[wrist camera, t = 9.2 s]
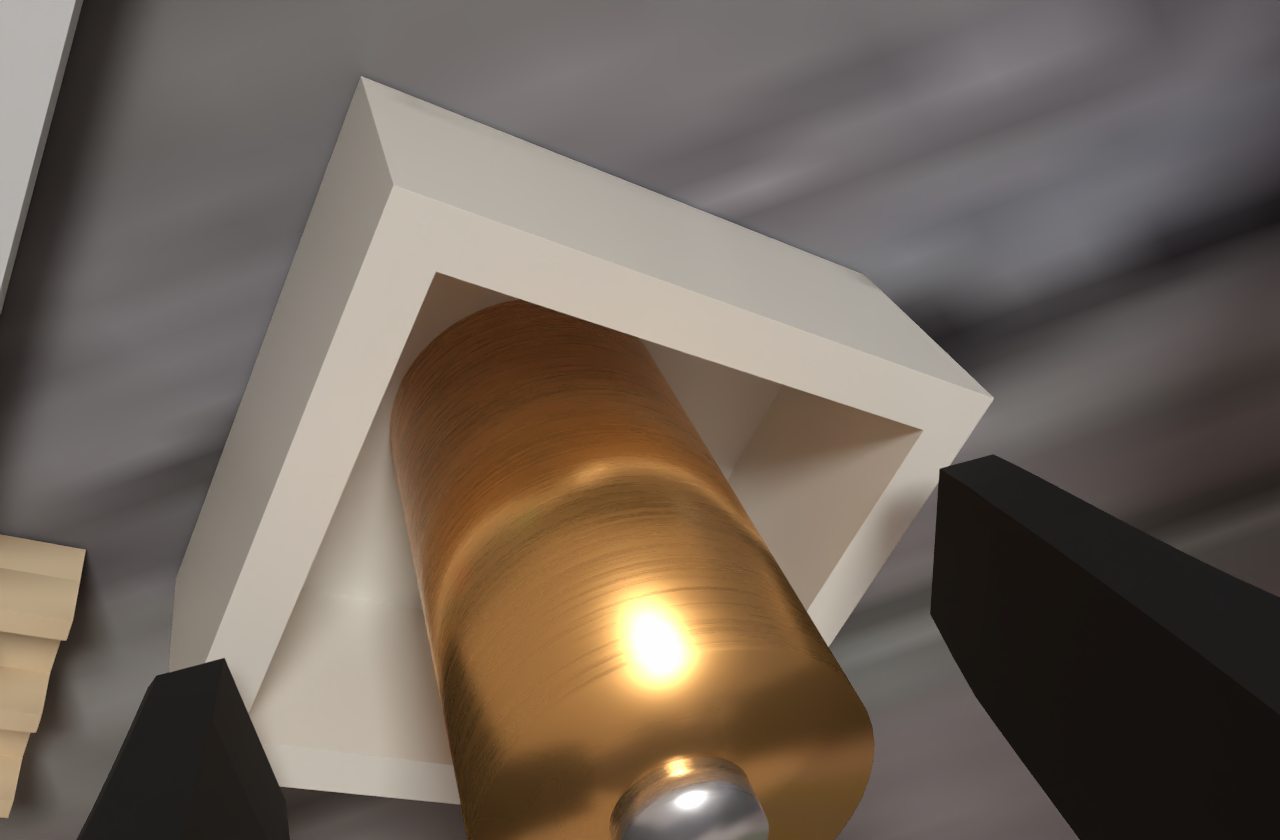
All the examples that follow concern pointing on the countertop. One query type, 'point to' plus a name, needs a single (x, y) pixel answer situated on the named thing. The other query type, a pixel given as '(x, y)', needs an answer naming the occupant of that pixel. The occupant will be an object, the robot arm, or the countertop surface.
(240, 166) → the countertop surface
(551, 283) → the white square open box
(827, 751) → the cell
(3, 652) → the trough
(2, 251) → the white compartment tray
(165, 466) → the countertop surface
